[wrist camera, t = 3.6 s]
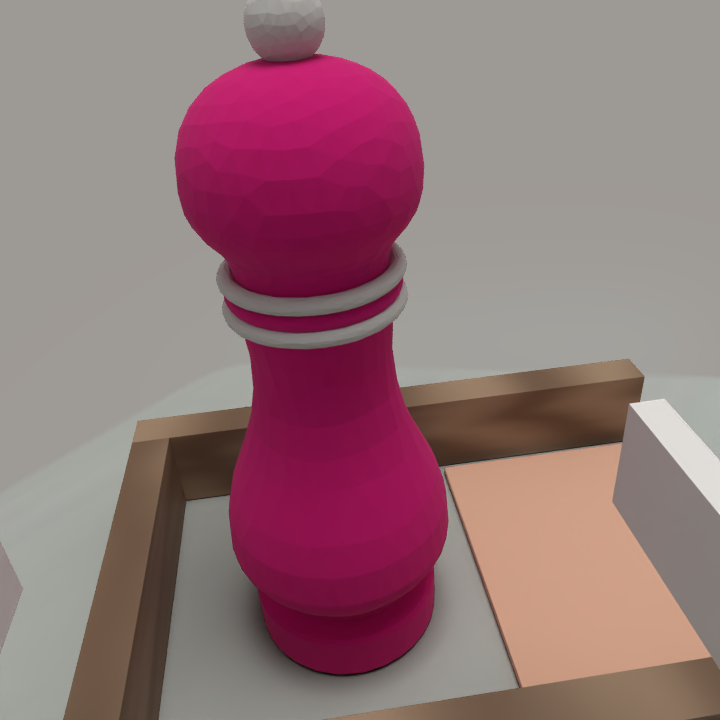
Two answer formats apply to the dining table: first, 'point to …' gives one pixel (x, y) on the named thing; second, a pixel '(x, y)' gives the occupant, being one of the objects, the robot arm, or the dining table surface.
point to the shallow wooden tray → (450, 446)
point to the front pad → (567, 568)
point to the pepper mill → (318, 339)
